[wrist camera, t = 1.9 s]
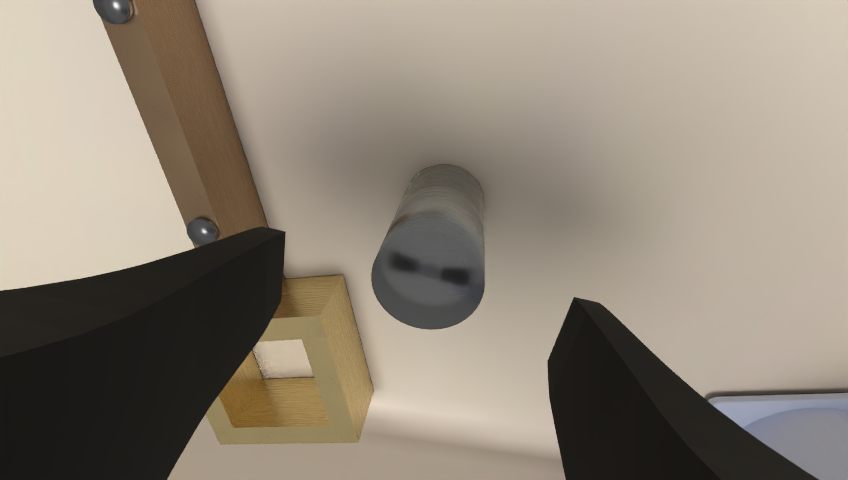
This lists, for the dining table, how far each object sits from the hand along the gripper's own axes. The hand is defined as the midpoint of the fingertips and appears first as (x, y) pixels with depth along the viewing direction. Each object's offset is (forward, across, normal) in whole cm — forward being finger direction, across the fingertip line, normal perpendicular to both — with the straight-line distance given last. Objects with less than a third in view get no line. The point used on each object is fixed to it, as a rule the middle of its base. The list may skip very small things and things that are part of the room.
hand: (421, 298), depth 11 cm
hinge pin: (+7, 0, 0) cm, 7 cm away
